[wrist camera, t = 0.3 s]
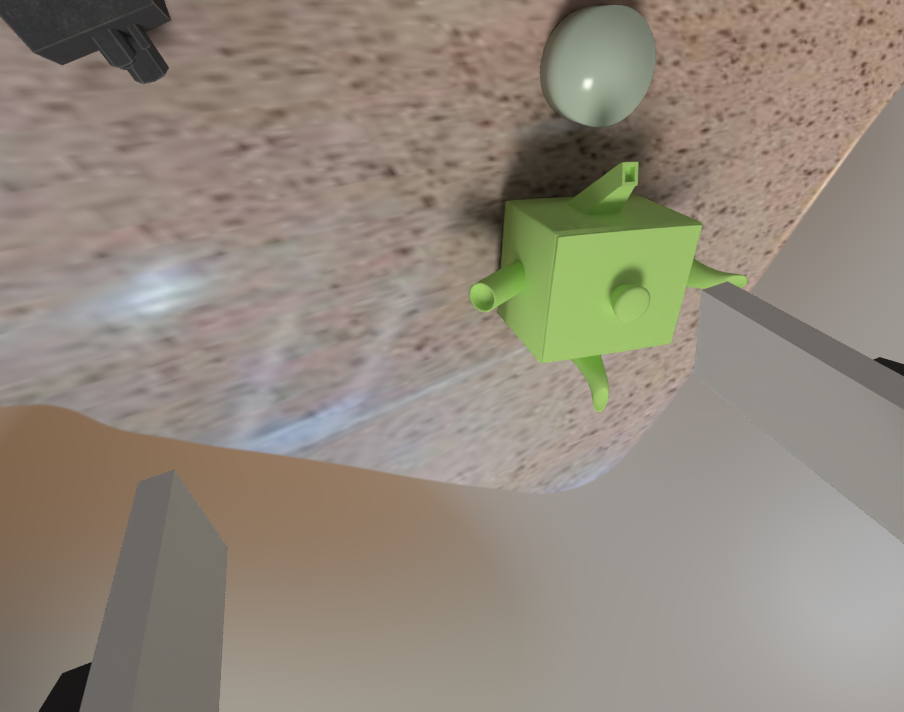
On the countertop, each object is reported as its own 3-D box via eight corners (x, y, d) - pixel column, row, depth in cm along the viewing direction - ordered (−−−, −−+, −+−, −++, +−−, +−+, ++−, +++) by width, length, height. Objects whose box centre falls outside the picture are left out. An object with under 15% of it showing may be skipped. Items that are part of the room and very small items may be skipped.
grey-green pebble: (531, 23, 35) (552, 23, 32) (627, -7, 36) (654, -10, 33) (546, 133, 39) (565, 141, 36) (632, 104, 40) (656, 109, 37)
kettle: (664, 237, 46) (764, 289, 37) (549, 355, 49) (615, 430, 40) (566, 109, 38) (663, 136, 29) (434, 260, 41) (485, 327, 32)
